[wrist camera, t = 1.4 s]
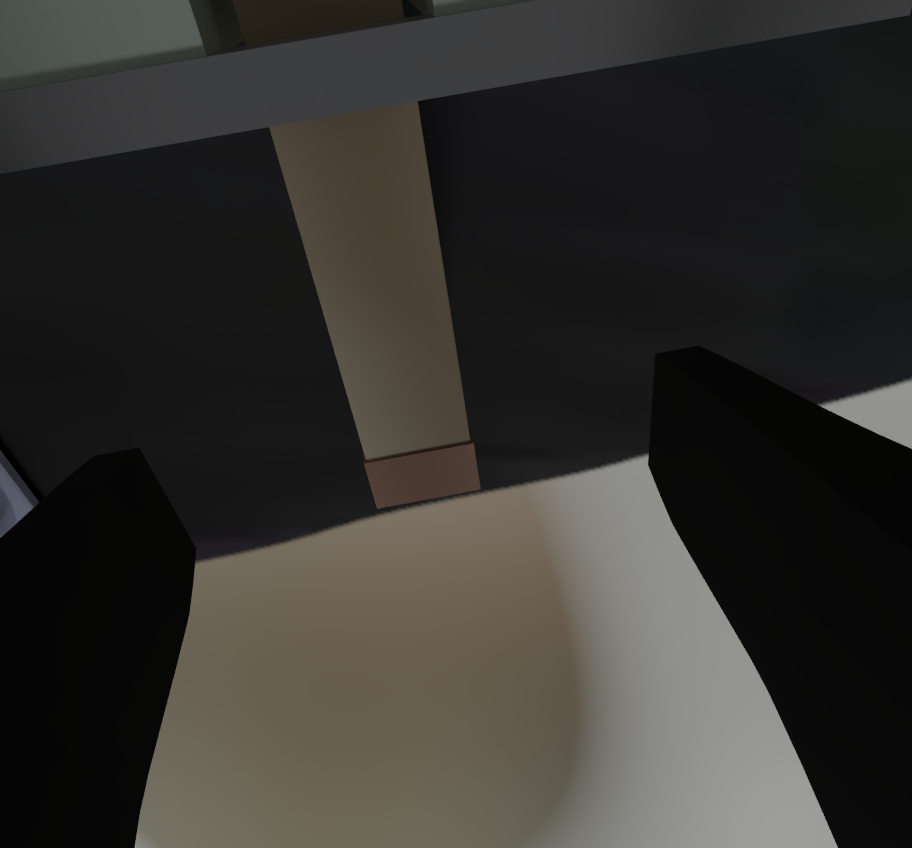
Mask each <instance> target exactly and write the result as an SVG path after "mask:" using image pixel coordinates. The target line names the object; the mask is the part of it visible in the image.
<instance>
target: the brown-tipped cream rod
mask: <svg viewBox="0 0 912 848" xmlns="http://www.w3.org/2000/svg"><path fill="white" fill-rule="evenodd" d="M232 1H233V4H234V8H235V11H236V14H237V18H238V21H239V25H240V28H241V32H242V35H243V39H244V42H245V45H249V44H255V43H261V42H267V41H273V40H278V39H284V38H290V37H296V36H302V35H307V34H313V33H319V32H325V31H331V30H337V29H342V28H348V27H354V26H360V25H366V24H371V23H377V22H383V21H389V20H395V19H400V18H404V11H403V5H402V0H232ZM269 128H270V131H271V135H272V138H273V142H274V145H275V149H276V152H277V155H278V159H279V162H280V166H281V169H282V173H283V176H284V179H285V183H286V186H287V190H288V193H289V197H290V200H291V204H292V207H293V210H294V214H295V217H296V221H297V224H298V228H299V231H300V234H301V238H302V241H303V245H304V248H305V252H306V255H307V258H308V262H309V265H310V269H311V272H312V276H313V279H314V283H315V286H316V289H317V293H318V296H319V300H320V303H321V307H322V310H323V313H324V317H325V320H326V324H327V327H328V331H329V334H330V338H331V341H332V344H333V348H334V351H335V355H336V358H337V362H338V365H339V368H340V372H341V375H342V379H343V382H344V386H345V389H346V393H347V396H348V399H349V403H350V406H351V410H352V413H353V417H354V420H355V423H356V427H357V430H358V434H359V437H360V441H361V444H362V448H363V451H364V465H365V469H366V472H367V476H368V479H369V482H370V486H371V489H372V493H373V496H374V499H375V503H376V506H377V509H378V508H383V507H389V506H394V505H399V504H405V503H410V502H415V501H421V500H426V499H432V498H437V497H442V496H448V495H453V494H458V493H464V492H469V491H474V490H480V482H479V476H478V469H477V463H476V456H475V449H474V443H473V439H472V435H471V430H470V426H469V422H468V418H467V414H466V409H465V403H464V397H463V390H462V384H461V377H460V371H459V365H458V358H457V352H456V345H455V339H454V332H453V326H452V320H451V313H450V307H449V300H448V294H447V287H446V281H445V275H444V268H443V262H442V255H441V249H440V242H439V236H438V230H437V223H436V217H435V210H434V204H433V198H432V191H431V185H430V178H429V172H428V165H427V159H426V153H425V146H424V140H423V133H422V127H421V120H420V114H419V108H418V101H415V102H409V103H403V104H397V105H392V106H386V107H380V108H375V109H369V110H363V111H357V112H352V113H346V114H340V115H334V116H329V117H323V118H317V119H312V120H306V121H300V122H294V123H289V124H283V125H277V126H271V127H269Z"/></svg>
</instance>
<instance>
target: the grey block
mask: <svg viewBox="0 0 912 848" xmlns="http://www.w3.org/2000/svg"><path fill="white" fill-rule="evenodd" d="M408 1H409V2H411V3H412V4H413V5H414V6H415V7H416V8H417V9H418V10H419V11H420V12H421V13H422V14H423V15H418V16H412V17H406V18H400V19H395V20H389V21H383V22H377V23H371V24H366V25H360V26H354V27H348V28H342V29H337V30H331V31H325V32H319V33H313V34H307V35H302V36H296V37H290V38H284V39H278V40H273V41H267V42H261V43H255V44H249V45H244V46H238V47H235V46H236V45H238V44H239V43H240V42H242V41H243V40H244V39H243V35H242V32H241V28H240V25H239V21H238V18H237V14H236V11H235V8H234V4H233V1H232V0H0V174H2V173H8V172H14V171H19V170H25V169H31V168H37V167H42V166H48V165H54V164H60V163H65V162H71V161H77V160H82V159H88V158H94V157H100V156H105V155H111V154H117V153H123V152H128V151H134V150H140V149H145V148H151V147H157V146H163V145H168V144H174V143H180V142H186V141H191V140H197V139H203V138H208V137H214V136H220V135H226V134H231V133H237V132H243V131H249V130H254V129H260V128H266V127H271V126H277V125H283V124H289V123H294V122H300V121H306V120H312V119H317V118H323V117H329V116H334V115H340V114H346V113H352V112H357V111H363V110H369V109H375V108H380V107H386V106H392V105H397V104H403V103H409V102H415V101H420V100H426V99H432V98H438V97H443V96H449V95H455V94H460V93H466V92H472V91H478V90H483V89H489V88H495V87H501V86H506V85H512V84H518V83H523V82H529V81H535V80H541V79H546V78H552V77H558V76H564V75H569V74H575V73H581V72H586V71H592V70H598V69H604V68H609V67H615V66H621V65H627V64H632V63H638V62H644V61H649V60H655V59H661V58H667V57H672V56H678V55H684V54H690V53H695V52H701V51H707V50H712V49H718V48H724V47H730V46H735V45H741V44H747V43H753V42H758V41H764V40H770V39H776V38H781V37H787V36H793V35H798V34H804V33H810V32H816V31H821V30H827V29H833V28H839V27H844V26H850V25H856V24H861V23H867V22H873V21H879V20H884V19H890V18H896V17H902V16H907V15H910V12H911V8H912V0H408Z"/></svg>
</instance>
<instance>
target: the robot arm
mask: <svg viewBox="0 0 912 848" xmlns="http://www.w3.org/2000/svg"><path fill="white" fill-rule="evenodd" d="M648 466H649V468H650V471H651V473H652V476H653V478H654V481H655V483H656V486H657V488H658V491H659V493H660V496H661V498H662V501H663V503H664V505H665V508H666V510H667V512H668V514H669V517H670V519H671V521H672V524H673V526H674V527H675V529H676V531H677V533H678V535H679V536H680V538H681V540H682V542H683V543H684V545H685V547H686V549H687V550H688V552H689V554H690V556H691V557H692V559H693V561H694V562H695V564H696V566H697V568H698V569H699V571H700V573H701V574H702V576H703V578H704V579H705V581H706V583H707V585H708V586H709V588H710V590H711V592H712V593H713V595H714V597H715V598H716V600H717V602H718V604H719V605H720V607H721V609H722V610H723V612H724V614H725V615H726V617H727V619H728V621H729V622H730V624H731V626H732V627H733V629H734V631H735V633H736V634H737V636H738V638H739V639H740V641H741V643H742V645H743V646H744V648H745V650H746V651H747V653H748V655H749V656H750V658H751V660H752V662H753V663H754V666H755V667H756V669H757V671H758V673H759V675H760V677H761V679H762V681H763V683H764V684H765V686H766V688H767V690H768V692H769V694H770V696H771V698H772V701H773V703H774V705H775V707H776V709H777V711H778V714H779V716H780V718H781V720H782V722H783V724H784V727H785V729H786V731H787V733H788V735H789V737H790V740H791V742H792V744H793V746H794V748H795V750H796V753H797V755H798V757H799V759H800V761H801V764H802V766H803V768H804V770H805V773H806V775H807V777H808V780H809V782H810V784H811V786H812V789H813V791H814V793H815V796H816V798H817V800H818V802H819V805H820V807H821V810H822V812H823V814H824V816H825V819H826V821H827V823H828V826H829V828H830V830H831V832H832V835H833V837H834V839H835V842H836V844H837V846H838V848H912V449H911V448H908V447H906V446H904V445H901V444H899V443H897V442H895V441H892V440H890V439H888V438H886V437H883V436H881V435H879V434H876V433H875V432H872V431H870V430H868V429H866V428H864V427H862V426H859V425H858V424H855V423H853V422H851V421H849V420H847V419H845V418H843V417H841V416H839V415H837V414H835V413H832V412H831V411H828V410H826V409H824V408H822V407H820V406H818V405H816V404H814V403H812V402H810V401H808V400H806V399H804V398H803V397H801V396H799V395H797V394H795V393H793V392H791V391H789V390H787V389H785V388H783V387H781V386H779V385H777V384H775V383H773V382H771V381H769V380H767V379H765V378H764V377H762V376H760V375H758V374H756V373H754V372H752V371H750V370H748V369H746V368H744V367H742V366H740V365H738V364H736V363H734V362H732V361H730V360H728V359H726V358H724V357H722V356H720V355H718V354H716V353H714V352H712V351H709V350H707V349H705V348H702V347H700V346H696V347H690V348H685V349H679V350H674V351H668V352H663V353H657V354H655V368H654V383H653V399H652V414H651V429H650V444H649V460H648ZM195 557H196V547H195V545H194V543H193V542H192V540H191V538H190V536H189V535H188V533H187V531H186V529H185V528H184V526H183V524H182V522H181V521H180V519H179V517H178V515H177V514H176V512H175V510H174V508H173V507H172V505H171V503H170V501H169V500H168V498H167V496H166V494H165V493H164V491H163V489H162V487H161V486H160V484H159V482H158V480H157V478H156V477H155V475H154V473H153V471H152V470H151V468H150V466H149V464H148V463H147V461H146V459H145V457H144V456H143V454H142V452H141V450H140V449H139V448H135V449H130V450H124V451H119V452H113V453H108V454H102V455H97V456H94V457H93V458H91V459H90V460H89V461H87V462H86V463H85V464H83V465H82V466H81V467H80V468H78V469H77V470H76V471H75V472H74V473H72V474H71V475H70V476H69V477H68V478H66V479H65V480H64V481H63V482H62V483H61V484H60V485H58V486H57V487H56V488H55V489H54V490H53V491H52V492H50V493H49V494H48V495H47V496H46V497H45V498H44V499H43V500H42V501H40V502H39V501H38V500H37V499H36V497H35V496H34V495H33V493H32V492H31V491H30V489H29V488H28V487H27V485H26V484H25V483H24V481H23V480H22V479H21V477H20V476H19V475H18V473H17V472H16V471H15V469H14V468H13V467H12V465H11V464H10V462H9V461H8V460H7V458H6V457H5V456H4V454H3V453H2V452H1V450H0V848H134V846H135V840H136V834H137V828H138V827H137V826H138V821H139V815H140V810H141V805H142V800H143V796H144V791H145V787H146V782H147V778H148V773H149V769H150V766H151V761H152V758H153V754H154V750H155V746H156V742H157V739H158V734H159V731H160V727H161V723H162V719H163V715H164V711H165V708H166V704H167V700H168V697H169V693H170V689H171V685H172V681H173V678H174V674H175V670H176V666H177V662H178V658H179V653H180V650H181V646H182V642H183V638H184V634H185V629H186V626H187V622H188V617H189V612H190V604H191V596H192V589H193V579H194V568H195Z"/></svg>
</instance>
